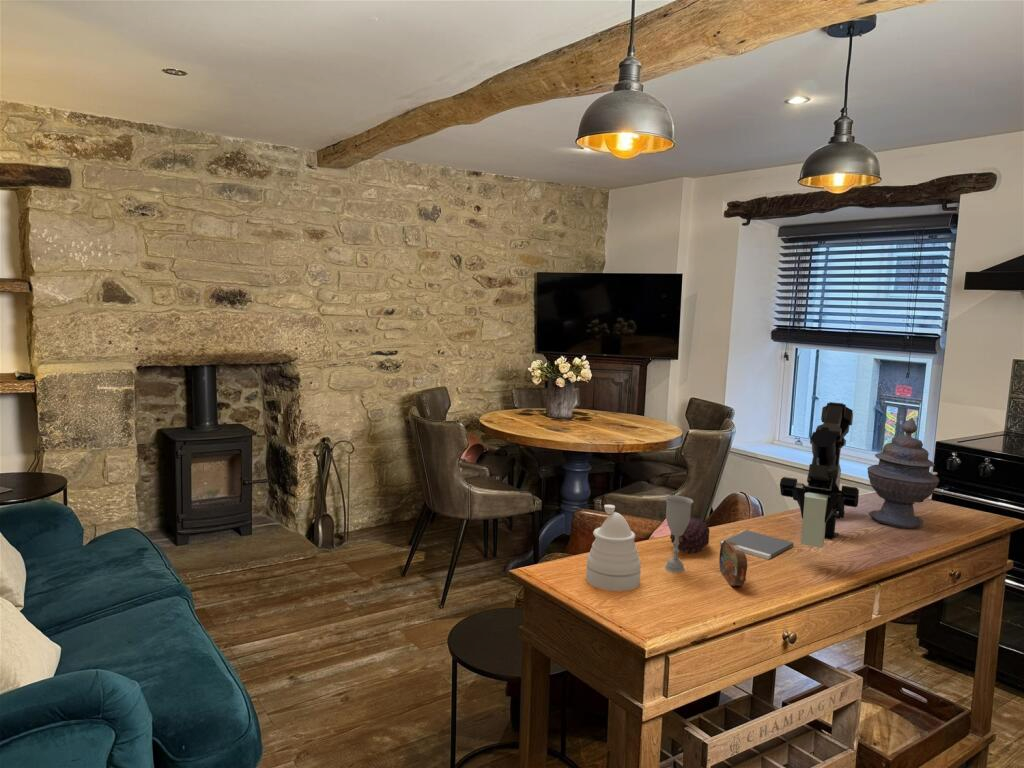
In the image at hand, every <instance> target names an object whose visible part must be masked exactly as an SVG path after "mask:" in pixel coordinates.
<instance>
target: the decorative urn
mask: <svg viewBox="0 0 1024 768" xmlns="http://www.w3.org/2000/svg"><path fill="white" fill-rule="evenodd" d="M901 429H902V431H904V433H905V434H904V435H897V436H894V437H892V438H891V442H888V443H885V445H883V447H882V451H881V452H878V453H875V454H874V457H875V458H876V459H878V460H879V461H878V464H873V465H870V466H868V467H867V475H868V476H867V477H868V479H869V484H870V486H871V487H872V489H873V490H874V492H875V493H876V494H877V496H878V497H879V498H880V499H883V500H884V501H883V504H882V506H881V508H880V509H878V510H871V511H868V515H869V516H870V517H871V518H872V519H874V520H875V521H876V522H878V523H880V524H884V525H889V526H892V527H895V528H899V529H916V528H919V527H921V526H922V525H923V524H924V522H925V521H924V519H923V518H921V517H920V516H916V515H915V511H914V510H915V509H914V504H916V503H918V504H919V503H923V502H924V501H925V499H928V498H929V497H930V496H932V495H933V494H934V491H935V489H936V488H937V486H938V485H939V483H940V479H939V477H938V476H937V475H935V474H933V473H931V472H930V469H931V467H935V465H936V464H935V463H934V462H933V461H932V460H930V459H929V456H930V455H929V454H930V453H929V452H928V450H927V449H926V448H924V447H923V446H924V444H923V441H922V440H920V439H918V438H914V437H912V434H914V433H916V432H917V430H918V425H917V423H916V422H915V420H914V417H911V418H909V419H907V420H906V421H905V422H904V423H902V425H901Z"/></svg>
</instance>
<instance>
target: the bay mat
mask: <svg viewBox="0 0 1024 768" xmlns="http://www.w3.org/2000/svg"><path fill="white" fill-rule="evenodd" d="M724 541H727V542H734V543H736V544H737V545H738V546H739V548H740V549H741V550H742V551H743V552H744V553H745V554H748V555H751V556H754V557H758V558H760V559H764V560H769V559H772V558H774V557H776V556H777V554H778V555H779V554H781V553H783V552H785V551H787V550H788V548H789V549H790V547H791V548H792V547H794V542H793V541H789V540H784V539H782V538H777V537H773V536H770V535H766V534H762V533H758V532H755V531H752V530H748V529H747V530H744V531H742V532H739V533H737V534H735V535H733V536H730V537H728V538H726V539H724V540H721V541H720V542H719V546H720V547H721V545H722V543H723V542H724Z"/></svg>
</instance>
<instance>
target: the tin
mask: <svg viewBox="0 0 1024 768" xmlns="http://www.w3.org/2000/svg"><path fill="white" fill-rule="evenodd" d="M723 541H724V540H723ZM718 555H719V558H718V561H719V562H718V563H719V570H720V573H721V574H722V576H723V577H724V579H725V580H726V582H727V583H728V584H729V586H733V587H735V586H736V587H742V586H744V585H745V583H746V578H747V569H748V559H747V556H746V553H744V552H743V551H742V550H741V549H740V548H739V546H738V545H737V544H736V543H734V542H727V541H724V542H723V543H722V545H721V546H720V550H719V554H718Z"/></svg>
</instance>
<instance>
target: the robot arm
mask: <svg viewBox="0 0 1024 768" xmlns="http://www.w3.org/2000/svg"><path fill="white" fill-rule="evenodd" d="M846 405H847V404H846V403H845V404H844V403H843V402H831V401H830V402H827V403H826V405H825V406H823V407H822V408H821V417H820V420H821V422H822V423H821V424H819V425H817V426H816V428H815V431H812V432H811V433H812V434H811V436H810V438H809V443H810V445H811V452H812V453H811V454H812V458H811V459H812V461H811V463H810V464H809V466H808V467H809V468H808V473H807V478H806V482H807V484H804V483H802V482H798V479H797V478H793V477H789V476H788V477H787V476H782V477H781V478H780V480H779V481H780V482H779V491H780V495H781V496H782V497H787V498H792V500H794V501H796V502H797V504H798V506H799V510H800V515H801V519H802V520H803V512H804V500H805V495H806V494H807V492H809V493H815V494H822V495H828V504H827V511H826V514H825V522H826V526H825V537H824V539H826V540H827V539H828V540H833V539H834V538H837V537H838V536H839V534H840V533H839V532H836V522H837V519H838V520H840V519H844V517H845V507H853V508H857V507H858V506H859V495H860V494H859V493H860V489H859V488H858V487H856V486H851V485H850V486H849V485H841V488H840V487H839V488H838V486H837V484H836V482H837V478H838V469H839V464H840V461H839V460H840V459H841V458H840V457H841V452H842V451H841V450H842V449H843V447H844V446H845V445H846V438H845V436H847V435H848V433H849V432H850V426H852V425H853V422H854V421H853V420H854V419H853V418H854V412H853V409H851V408H849V407H847V406H846ZM840 489H841V490H840Z"/></svg>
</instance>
